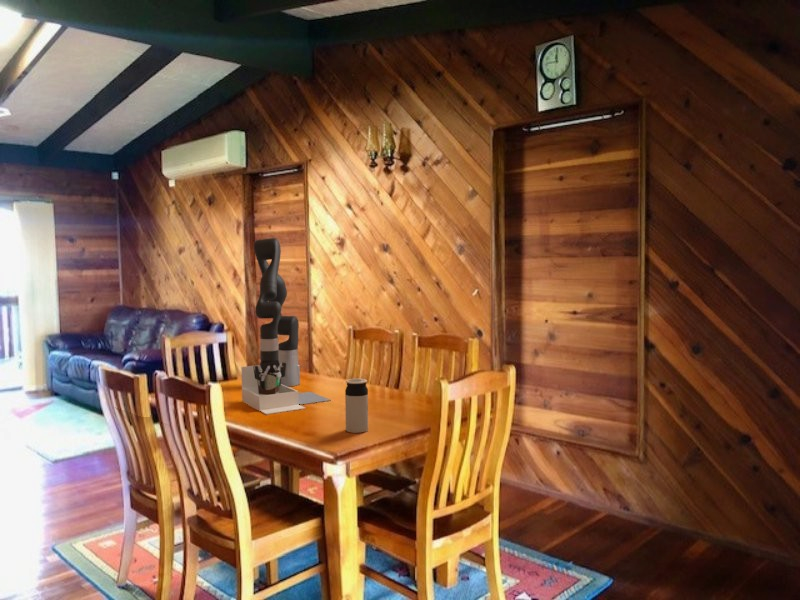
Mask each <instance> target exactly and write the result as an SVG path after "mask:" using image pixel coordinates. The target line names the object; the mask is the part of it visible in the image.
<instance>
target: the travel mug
mask: <svg viewBox="0 0 800 600" xmlns="http://www.w3.org/2000/svg"><path fill="white" fill-rule="evenodd" d="M367 382H368V380H367V379H365V378H349V379H346V380H345V383H346V385H347V386H346V388H345V390H344V391H345V392H344V393H345V394H344V395H345V431H346V432H349V433H350V432H351V433H352V434H362V432H363V433H366V432H367V431H369V389H368V387H367Z"/></svg>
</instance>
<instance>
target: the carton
mask: <svg viewBox="0 0 800 600" xmlns="http://www.w3.org/2000/svg"><path fill="white" fill-rule="evenodd" d="M257 365H258V364H257ZM257 365H255V366H257ZM253 366H254V365H248V366H241V371H240V372H241V400H242V401H243V402H244V404H245V403H246V404H245V405H247V404H248V406H249V405H250V406H249V407H251V408H253V409H254V410H257V411H258V410H259V412H260V411H261V412H260V413H263V414H264V415H266V416H267V415H273V414H274V413H275V414H281V413H287V411H288V412H295V411H300V410H299V409H301V410H306V409H307V407H305V406H304V405H299V394H298V393H299V390H296V389H294V388H291V387H290V386H284V385H282V384H281V386H280V387H279V394H272V395H261V394H259V393H258V384H257V379H255V375H254V369H253ZM277 369H278V370H279V367H278V368H277ZM260 370H262V369H261V367H260ZM242 401H241V402H242ZM243 402H242V403H243ZM294 410H295V411H294ZM280 412H281V413H280Z"/></svg>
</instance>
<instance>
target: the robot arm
mask: <svg viewBox="0 0 800 600" xmlns="http://www.w3.org/2000/svg"><path fill="white" fill-rule="evenodd" d="M281 248H282V247H281V244H280V240H279V239H278V238H277V237H271V238H263V239H256V240H255V241H254V243H253V251H254V254H255V257H256V260H257V264H258V266H259V270H260V273H261V278H260V283H259V297H258V299H257V302H256V305H255V309H254V311H255V316H256V317H257V318H258V319H272V320H271V322H268V323H263V324H261V325H260V343H259V349H260V350H259V351H260V352H259V353H260V354H259V355H260V356H259V357H260V363H259V364H257V366H256V365H255V364H254V365H252V366H253V369H254V375H255V379H257V380H259V381H260V388H261V389H262V390H265V384H264V379H265V376H266V375H267V373H274V372H276V373H278V372H279V371H278V369H277V368H278V367H279V370H280V372H281V377H280V381H279V387H280V386H281V384H282V385H284V386H287V387H295V386H299V385H301V373H300V371H301V370H300V368H301V367H300V364H299V353H298V352H299V351H298V350H299V349H298V348H299V347H298V346H299V326H300V325H299V320H298V317H297V316H294V315H282V308H283V305H284V302H286V299H287V296H288V291H287V285H286V282H285V280H284V278H283V277H282V276H281V275H280V274H279V270H280V269H279V268H280V260H281V252H282V251H281ZM269 260H271V261H270V263H269V262H268V261H269ZM279 336H289V337H288V339H286V340H285V341H283V342H282V341H281V342H280V343H279V340H278V339H279V338H278V337H279ZM260 367H261V369H262V372H261V375H260V376H259V370H260Z"/></svg>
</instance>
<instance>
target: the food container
mask: <svg viewBox="0 0 800 600" xmlns="http://www.w3.org/2000/svg"><path fill="white" fill-rule="evenodd" d="M278 371H279V372H278V373H276V372H274V373H267V375H266V376H265V379H264V384H265V390H262V389H261V388H260V381H259V380H257V384H258V393H259V394H261V395H272V394H279V381H280V377H281V372H280V370H278ZM261 372H262V370H259V376H260V375H261Z"/></svg>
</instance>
